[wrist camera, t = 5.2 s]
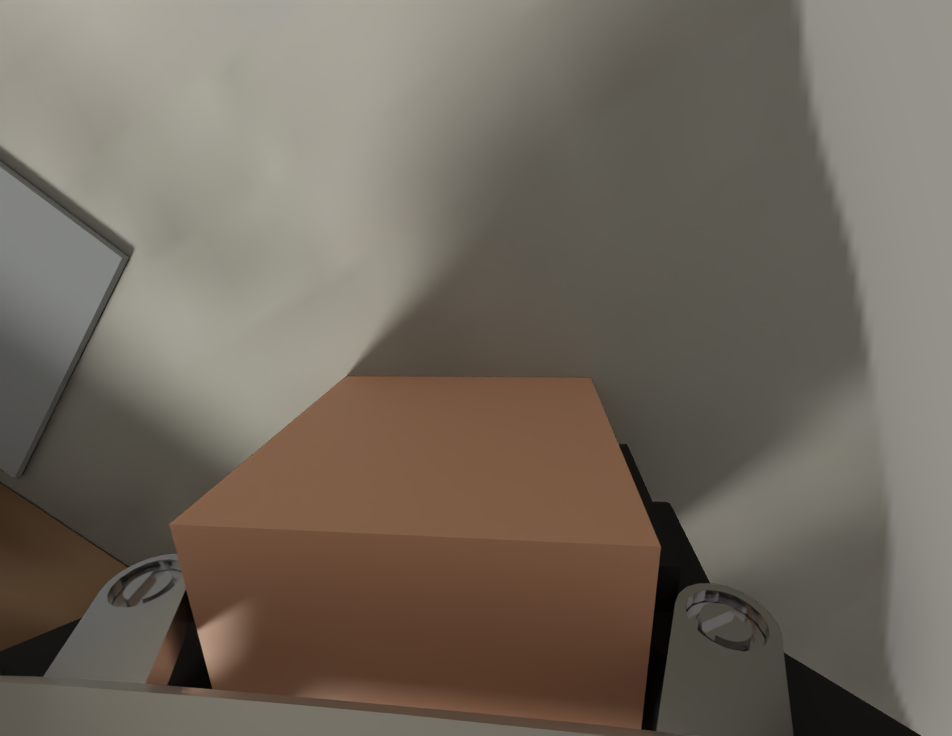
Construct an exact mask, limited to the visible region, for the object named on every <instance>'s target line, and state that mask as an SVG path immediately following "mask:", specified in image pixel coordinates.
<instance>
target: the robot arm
mask: <svg viewBox="0 0 952 736" xmlns="http://www.w3.org/2000/svg"><path fill="white" fill-rule="evenodd" d="M619 447H620V449H621V452H622V454H623V456H624V459H625V461H626V464H627V466H628V469H629V471H630V473H631V476H632V478H633V481H634V483H635V485H636V488H637V490H638V493H639V495H640V497H641V500H642V502H643V505H644V507H645V510H646V512H647V514H648V517H649V519H650V522H651V524H652V526H653V529H654V531H655V534H656V536H657V539H658V541H659V543H660V546H661V551H660V560H659V569H658V579H657V588H656V597H655V606H654V615H653V625H652V634H651V643H650V652H649V662H648V671H647V680H646V689H645V699H644V708H643V717H642V726H641V730H640V729H632V728H623V727H614V726H605V725H596V724H585V723H575V722H565V721H554V720H544V719H533V718H523V717H513V716H502V715H492V714H482V713H471V712H461V711H450V710H440V709H429V708H418V707H407V706H396V705H385V704H374V703H363V702H352V701H341V700H330V699H318V698H307V697H296V696H284V695H273V694H262V693H250V692H238V691H226V690H214V689H212V685H211V681H210V678H209V674H208V670H207V666H206V663H205V659H204V655H203V651H202V647H201V644H200V640H199V636H198V632H197V629H196V625H195V621H194V617H193V613H192V610H191V606H190V602H189V598H188V594H187V591H186V587H185V583H184V579H183V576H182V572H181V568H180V564H179V560H178V557H177V554H166V555H160V556H156V557H152V558H148V559H146V560H143V561H141V562H139V563H136V564H134V565H132V566H130V567H128V568H127V569H125V570H123V571H121V572H120V573H118V574H117V575H116V576H115V577H113V578H112V579H111V580H109V581H108V582H107V583H106V585H105V586H104V587H103V588H102V589H101V590H100V591H99V593H98V594H97V596H96V598H95V599H94V601H93V602H92V604H91V605H90V607H89V608H88V610H87V611H86V613H85V614H84V616H83V617H82V618H80V619H77V620H75V621H72V622H70V623H67V624H65V625H63V626H60V627H58V628H55V629H53V630H51V631H48V632H46V633H43V634H41V635H39V636H36V637H34V638H31V639H29V640H26V641H24V642H22V643H19V644H17V645H14V646H12V647H10V648H7V649H5V650H2V651H0V736H921V735H919V734H917V733H916V732H914V731H912V730H911V729H909V728H907V727H906V726H904V725H902V724H901V723H899V722H898V721H896V720H894V719H893V718H891V717H889V716H888V715H886V714H884V713H883V712H881V711H879V710H878V709H876V708H874V707H873V706H871V705H869V704H868V703H866V702H865V701H863V700H861V699H860V698H858V697H856V696H855V695H853V694H851V693H850V692H848V691H846V690H845V689H843V688H841V687H840V686H838V685H836V684H835V683H833V682H832V681H830V680H828V679H827V678H825V677H823V676H822V675H820V674H818V673H817V672H815V671H813V670H812V669H810V668H808V667H807V666H805V665H804V664H802V663H800V662H799V661H797V660H795V659H794V658H792V657H790V656H789V655H787V654H785V653H784V650H783V641H782V635H781V632H780V629H779V626H778V624H777V622H776V621H775V620H774V618H773V617H772V615H771V614H770V613H769V612H768V611H767V610H766V609H765V608H764V607H763V606H762V605H760V604H759V603H758V602H757V601H756V600H754V599H752V598H751V597H749V596H747V595H746V594H744V593H742V592H740V591H737V590H735V589H732V588H730V587H727V586H722V585H717V584H712V583H710V582H709V580H708V578H707V576H706V574H705V572H704V570H703V568H702V566H701V564H700V562H699V560H698V558H697V556H696V554H695V552H694V550H693V548H692V546H691V544H690V542H689V540H688V538H687V536H686V534H685V532H684V530H683V528H682V526H681V524H680V522H679V520H678V518H677V516H676V514H675V512H674V510H673V508H672V507H671V505H670V504H669V503H667V502H652V500H651V498H650V495H649V493H648V491H647V489H646V486H645V484H644V482H643V479H642V477H641V475H640V473H639V470H638V468H637V466H636V464H635V461H634V459H633V457H632V454H631V452H630V450H629V448H628V446H627V444H619Z"/></svg>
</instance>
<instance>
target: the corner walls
mask: <svg viewBox="0 0 952 736" xmlns="http://www.w3.org/2000/svg"><path fill="white" fill-rule="evenodd" d="M125 569H127V567H126V566H124V565H123V564H121V563H120V562H118V561H117V560H115V559H114V558H112V557H111V556H109V555H108V554H106V553H105V552H103V551H102V550H100V549H99V548H97V547H96V546H94V545H93V544H91V543H90V542H88V541H87V540H85V539H84V538H82V537H81V536H79V535H78V534H76V533H75V532H73V531H72V530H70V529H69V528H67V527H66V526H64V525H63V524H61V523H60V522H58V521H57V520H55V519H54V518H52V517H51V516H49V515H48V514H46V513H45V512H43V511H42V510H40V509H39V508H37V507H36V506H34V505H33V504H31V503H30V502H28V501H27V500H25V499H24V498H22V497H21V496H19V495H18V494H16V493H15V492H13V491H12V490H10V489H9V488H7V487H6V486H4V485H3V484H1V483H0V651H2V650H5V649H7V648H10V647H12V646H14V645H17V644H19V643H22V642H24V641H26V640H29V639H31V638H34V637H36V636H39V635H41V634H43V633H46V632H48V631H51V630H53V629H55V628H58V627H60V626H63V625H65V624H67V623H70V622H72V621H75V620H77V619H80V618H82V617H83V616H84V614H85V613H86V611H87V610H88V608H89V607H90V605H91V604H92V602H93V601H94V599H95V598H96V596H97V594H98V593H99V591H100V590H101V589H102V588H103V587H104V586H105V585H106V583H107V582H108V581H109V580H111V579H112V578H113V577H115V576H116V575H117V574H118V573H120V572H121V571H123V570H125Z"/></svg>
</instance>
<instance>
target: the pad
mask: <svg viewBox="0 0 952 736" xmlns="http://www.w3.org/2000/svg"><path fill="white" fill-rule="evenodd" d="M128 259H129V257H128V256H126V255H125V254H124V253H122V252H121V251H120V250H118V249H117V248H116V247H114V246H113V245H112V244H110V243H109V242H108V241H106V240H105V239H104V238H102V237H101V236H100V235H98V234H97V233H96V232H94V231H93V230H92V229H90V228H89V227H88V226H86V225H85V224H84V223H82V222H81V221H80V220H78V219H77V218H76V217H74V216H73V215H72V214H70V213H69V212H68V211H66V210H65V209H64V208H62V207H61V206H60V205H58V204H57V203H56V202H54V201H53V200H52V199H50V198H49V197H48V196H46V195H45V194H44V193H42V192H41V191H40V190H38V189H37V188H36V187H34V186H33V185H32V184H30V183H29V182H28V181H26V180H25V179H24V178H22V177H21V176H20V175H18V174H17V173H16V172H14V171H13V170H12V169H10V168H9V167H8V166H6V165H5V164H4V163H2V162H1V161H0V469H1V470H2V471H4V472H5V473H7V474H8V475H10V476H11V477H13V478H14V479H15V478H17V477H19V476H21V475H22V473H23V471H24V469H25V467H26V465H27V463H28V461H29V459H30V457H31V455H32V453H33V451H34V449H35V447H36V445H37V443H38V441H39V439H40V437H41V435H42V433H43V431H44V429H45V427H46V425H47V423H48V421H49V419H50V417H51V415H52V413H53V411H54V409H55V406H56V404H57V402H58V400H59V398H60V396H61V394H62V392H63V390H64V388H65V386H66V384H67V382H68V380H69V378H70V376H71V374H72V372H73V370H74V368H75V366H76V364H77V362H78V360H79V358H80V356H81V354H82V352H83V350H84V348H85V346H86V344H87V342H88V340H89V338H90V336H91V334H92V332H93V330H94V327H95V325H96V323H97V321H98V319H99V317H100V315H101V313H102V311H103V309H104V307H105V305H106V303H107V301H108V299H109V297H110V295H111V293H112V291H113V289H114V287H115V285H116V283H117V281H118V279H119V277H120V275H121V273H122V271H123V269H124V267H125V265H126V263H127V261H128Z"/></svg>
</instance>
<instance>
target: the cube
mask: <svg viewBox="0 0 952 736" xmlns="http://www.w3.org/2000/svg"><path fill="white" fill-rule="evenodd" d="M169 526H170V530H171V534H172V538H173V542H174V545H175V549H176V553H177V557H178V560H179V564H180V568H181V572H182V576H183V579H184V583H185V587H186V591H187V594H188V598H189V602H190V606H191V610H192V613H193V617H194V621H195V625H196V629H197V632H198V636H199V640H200V644H201V647H202V651H203V655H204V659H205V663H206V666H207V670H208V674H209V678H210V681H211V685H212V689H214V690H226V691H238V692H250V693H262V694H273V695H284V696H296V697H307V698H318V699H330V700H341V701H352V702H363V703H374V704H385V705H396V706H407V707H418V708H429V709H440V710H450V711H461V712H471V713H482V714H492V715H502V716H513V717H523V718H533V719H544V720H554V721H565V722H575V723H585V724H596V725H605V726H614V727H623V728H632V729H640V730H641V726H642V717H643V708H644V699H645V689H646V680H647V671H648V662H649V652H650V643H651V634H652V625H653V615H654V606H655V597H656V588H657V579H658V569H659V560H660V551H661V546H660V543H659V541H658V539H657V536H656V534H655V531H654V529H653V526H652V524H651V522H650V519H649V517H648V514H647V512H646V510H645V507H644V505H643V502H642V500H641V497H640V495H639V493H638V490H637V488H636V485H635V483H634V481H633V478H632V476H631V473H630V471H629V469H628V466H627V464H626V461H625V459H624V456H623V454H622V452H621V449H620V447H619V444H618V442H617V440H616V437H615V435H614V432H613V430H612V427H611V425H610V423H609V420H608V418H607V415H606V413H605V411H604V408H603V406H602V403H601V401H600V399H599V396H598V394H597V391H596V389H595V386H594V384H593V382H592V379H591V378H565V377H411V376H346V377H344V378H343V379H342V380H341V381H340V382H339V383H337V384H336V385H335V386H334V387H333V388H331V389H330V390H329V391H328V392H327V393H325V394H324V395H323V396H322V397H321V398H319V399H318V400H317V401H316V402H315V403H313V404H312V405H311V406H310V407H309V408H307V409H306V410H305V411H304V412H303V413H301V414H300V415H299V416H298V417H297V418H295V419H294V420H293V421H292V422H291V423H289V424H288V425H287V426H286V427H285V428H283V429H282V430H281V431H280V432H279V433H278V434H276V435H275V436H274V437H273V438H272V439H270V440H269V441H268V442H267V443H266V444H264V445H263V446H262V447H261V448H260V449H258V450H257V451H256V452H255V453H254V454H252V455H251V456H250V457H249V458H248V459H246V460H245V461H244V462H243V463H242V464H240V465H239V466H238V467H237V468H236V469H234V470H233V471H232V472H231V473H230V474H228V475H227V476H226V477H225V478H224V479H223V480H221V481H220V482H219V483H218V484H217V485H215V486H214V487H213V488H212V489H211V490H209V491H208V492H207V493H206V494H205V495H203V496H202V497H201V498H200V499H199V500H197V501H196V502H195V503H194V504H193V505H191V506H190V507H189V508H188V509H187V510H185V511H184V512H183V513H182V514H181V515H179V516H178V517H177V518H176V519H175V520H173V521H172V522H171V523H170V524H169Z"/></svg>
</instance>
